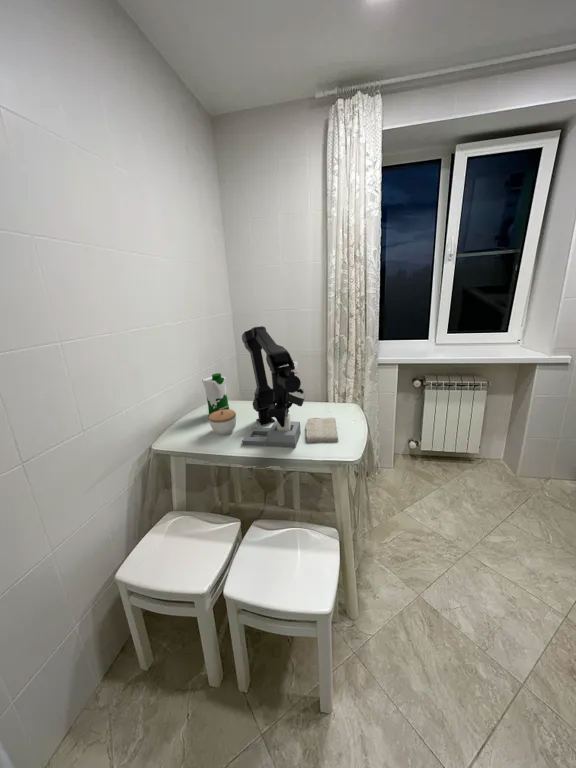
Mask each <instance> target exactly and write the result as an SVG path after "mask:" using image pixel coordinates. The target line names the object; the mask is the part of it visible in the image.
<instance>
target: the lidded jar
mask: <svg viewBox="0 0 576 768" xmlns="http://www.w3.org/2000/svg"><path fill="white" fill-rule="evenodd" d="M208 419H209V420H208V421H209V424H210V427H211V429H212V431H214V433H216V434H217V433H218V434H217V435H219V436H226V435H230V434H232V433H233V431H234V429H235V428H236V425H237V413H236V411H235V410H233V409H229V410H228V409H226V410H219V411H216V412H213V413H211V414H210V415H209V414H208Z"/></svg>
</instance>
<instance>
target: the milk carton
mask: <svg viewBox="0 0 576 768" xmlns="http://www.w3.org/2000/svg"><path fill="white" fill-rule="evenodd" d="M226 383H227V376H222V374H221V373H220V372H219V373H213V374H211V376H209V377H207V378H204V379H202V384H203V386H204V390H205V394H206V395H205V396H206V401H207V406H208V407H207V408H208V416H209V415H210V414H211V413H213V412H216V411H219V410H226V409H228V410H230V406H229V400H228V393H227V385H226Z"/></svg>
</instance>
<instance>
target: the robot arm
mask: <svg viewBox="0 0 576 768" xmlns="http://www.w3.org/2000/svg"><path fill="white" fill-rule="evenodd" d="M241 340H242V343H243V344H244V348H245V349H246V350H247V351H248V353H250V358H251V359H250V360H251V364H252V369H253V374H254V375H253V376H254V379H255V384H256V388H255V391H254V399H253V402H252V409H253V410H254V411H256V413H257V414H258V415H257V416H258V418H256V419H255V421H256V422H258V423H259V424H260V425H261V426H264V425H269V424H271V423H272V424H273V423H274V422H275V421H278V422H279V424H280V426H281V427H284V426H285V417H286V415H287V414H289V411H290V410H289V409H291V407H292V405H293V404H294V405H297V406H298V407H302V406H303V404H304V401H305V399H306V393H305V392H304V388H302V387H301V383H302V381H301V379H300V378H299V377H298V376H297V375H295V371H294V370H295V369H296V368H295V367H296V366H295V362H294V361H293V359H292V356H291V354H290V352H289V351H288V350H287V349H286V348H285V347H284V346H282V345H279V344H277V343H276V342H275V340H274V339H273V337H272V336H271V335H270V334H269V333H268V331H267V328H266V326H254V327H252V328H251V329H249V330H247V331H244V332H243V334H242V335H241ZM262 350H263V351H264V352H265V355H266V358H265V360H266V363H267V365H268V367H269V371H270V373H271V383H272V384H271V385H272V388H271V387H270V386H269V383H268V379H267V374H266V367H265V363H264V357H263V352H262ZM274 418H275V419H274ZM276 419H277V420H276Z"/></svg>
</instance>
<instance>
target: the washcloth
mask: <svg viewBox="0 0 576 768" xmlns="http://www.w3.org/2000/svg"><path fill="white" fill-rule="evenodd" d="M305 424H306V426H305V427H306V428H305V429H306V434H305V435H306V442H307V443H317V442H318V443H321V442H322V443H323V442H324V443H326V442H327V443H328V442H330V443H333V441H334V443H335V442H339V436H338V430H337V423H336V418H335V417H324V418H323V417H312V418H311V417H310V418H307V420H306V423H305Z"/></svg>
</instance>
